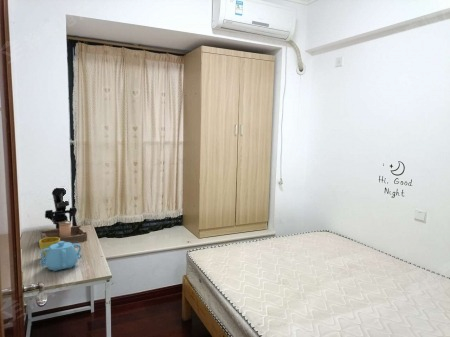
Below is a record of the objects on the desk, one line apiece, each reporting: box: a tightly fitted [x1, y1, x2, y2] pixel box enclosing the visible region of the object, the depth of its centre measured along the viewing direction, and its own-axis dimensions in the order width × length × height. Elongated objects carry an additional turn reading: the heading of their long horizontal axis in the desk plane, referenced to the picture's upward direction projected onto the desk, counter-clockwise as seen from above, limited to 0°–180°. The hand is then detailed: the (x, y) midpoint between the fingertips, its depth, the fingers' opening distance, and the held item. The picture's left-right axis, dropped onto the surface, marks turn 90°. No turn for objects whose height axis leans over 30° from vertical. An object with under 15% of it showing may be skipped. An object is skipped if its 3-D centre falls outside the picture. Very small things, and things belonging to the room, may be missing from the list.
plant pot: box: [38, 237, 60, 258], centre depth 177 cm, size 10×10×10 cm
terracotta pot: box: [59, 220, 72, 238], centre depth 203 cm, size 7×7×13 cm
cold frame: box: [40, 225, 88, 243], centre depth 205 cm, size 16×24×6 cm
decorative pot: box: [39, 241, 83, 272], centre depth 163 cm, size 16×16×14 cm
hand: (63, 223), depth 205 cm, fingers open, 9 cm apart
